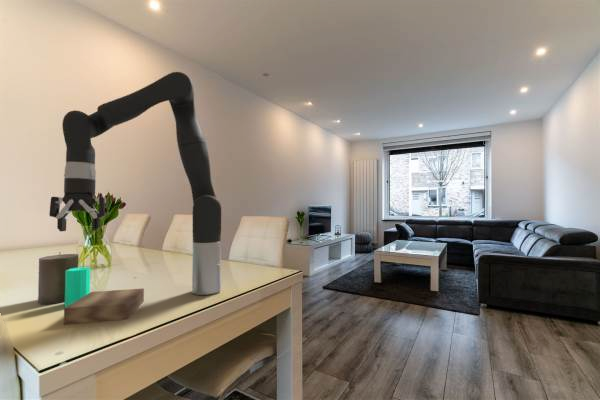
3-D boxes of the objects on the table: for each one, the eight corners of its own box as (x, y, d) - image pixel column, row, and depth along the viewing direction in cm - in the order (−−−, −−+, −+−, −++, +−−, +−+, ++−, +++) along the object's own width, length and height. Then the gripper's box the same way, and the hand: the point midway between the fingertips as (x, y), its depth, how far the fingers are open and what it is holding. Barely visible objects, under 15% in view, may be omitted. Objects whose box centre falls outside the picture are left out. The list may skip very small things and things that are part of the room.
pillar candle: (84, 297, 90) (85, 250, 91) (47, 306, 81) (48, 255, 82) (68, 293, 94) (69, 249, 95) (30, 302, 85) (32, 253, 86)
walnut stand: (143, 301, 85) (143, 288, 86) (127, 319, 72) (127, 303, 72) (91, 305, 82) (91, 291, 82) (63, 324, 68) (64, 308, 69)
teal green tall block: (75, 307, 80) (76, 266, 81) (59, 306, 81) (60, 265, 82) (94, 300, 86) (95, 262, 86) (79, 299, 87) (80, 261, 88)
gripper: (111, 180, 90) (110, 229, 90) (60, 178, 87) (58, 230, 86) (101, 177, 83) (99, 231, 82) (44, 176, 80) (43, 232, 79)
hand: (79, 230), depth 84 cm, fingers open, 8 cm apart
